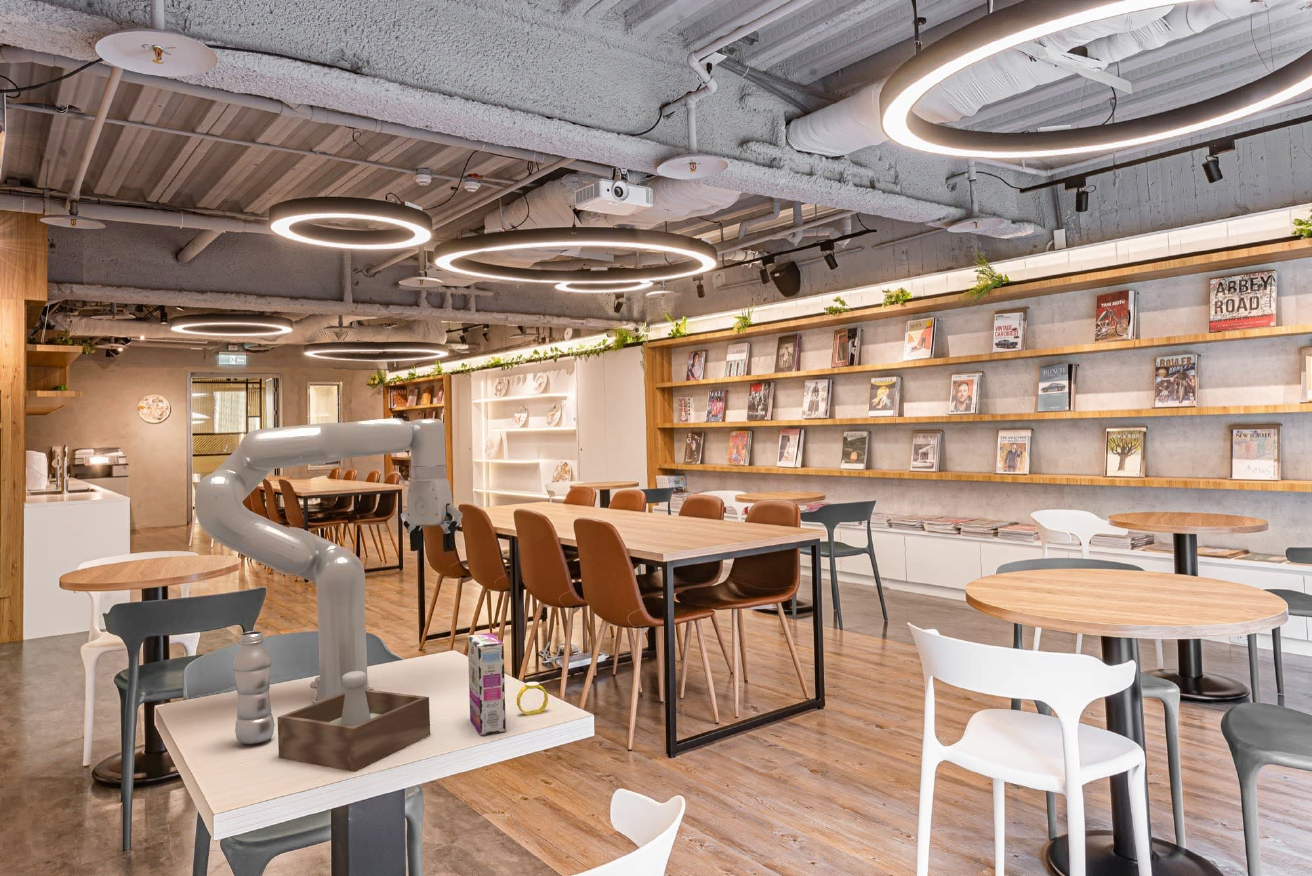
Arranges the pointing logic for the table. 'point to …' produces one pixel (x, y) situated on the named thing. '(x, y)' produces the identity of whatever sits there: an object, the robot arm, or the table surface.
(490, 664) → the candy bar box
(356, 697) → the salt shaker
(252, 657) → the plastic bottle
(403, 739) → the box
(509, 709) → the table surface
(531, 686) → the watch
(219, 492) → the robot arm
